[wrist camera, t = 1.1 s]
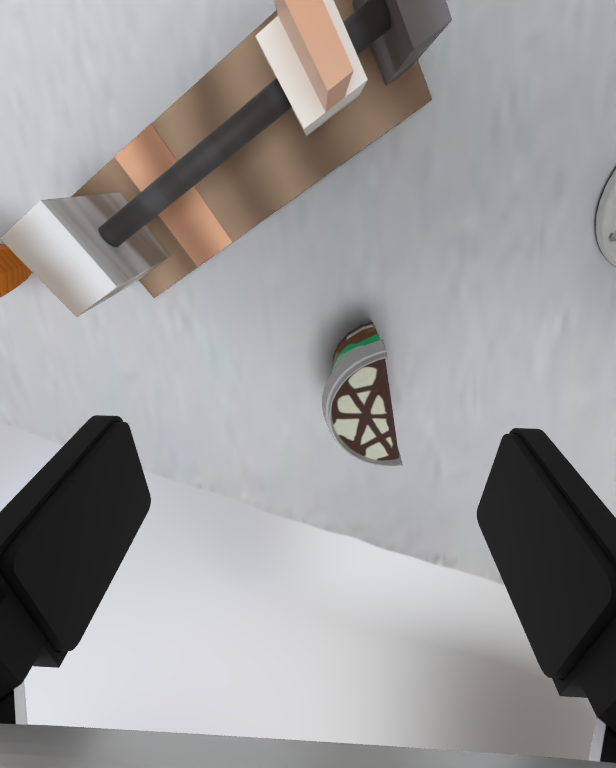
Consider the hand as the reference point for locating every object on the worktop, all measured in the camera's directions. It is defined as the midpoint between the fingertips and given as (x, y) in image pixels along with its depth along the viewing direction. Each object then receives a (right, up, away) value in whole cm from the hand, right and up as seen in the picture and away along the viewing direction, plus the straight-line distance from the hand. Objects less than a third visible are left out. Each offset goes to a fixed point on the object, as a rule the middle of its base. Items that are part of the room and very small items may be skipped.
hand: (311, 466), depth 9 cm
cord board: (-5, +21, +20) cm, 30 cm away
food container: (+5, +4, +30) cm, 31 cm away
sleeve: (0, +21, +13) cm, 25 cm away
